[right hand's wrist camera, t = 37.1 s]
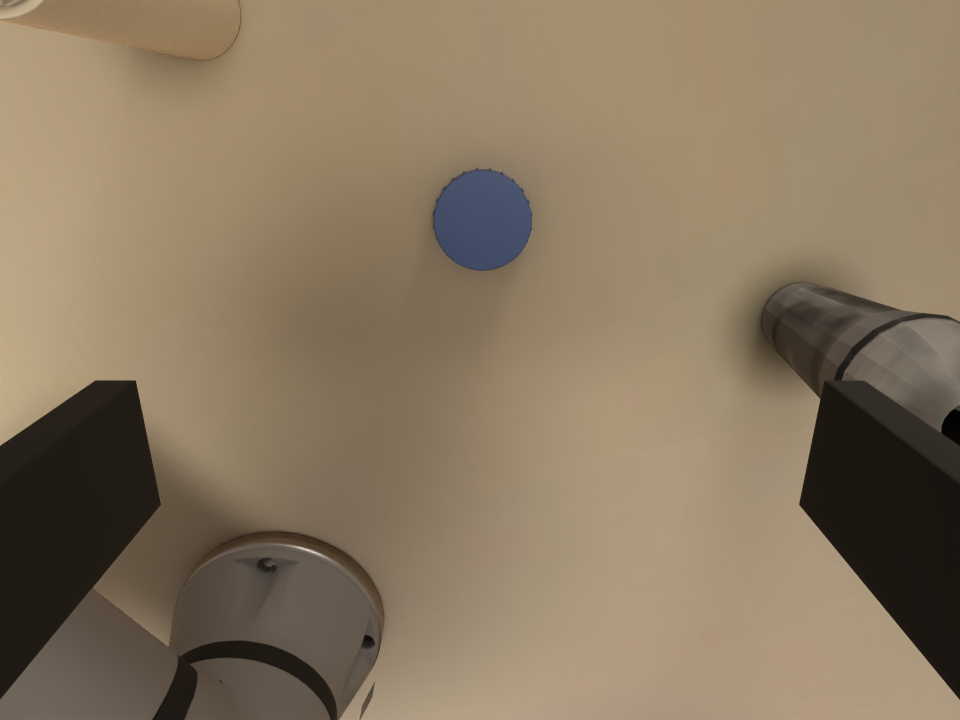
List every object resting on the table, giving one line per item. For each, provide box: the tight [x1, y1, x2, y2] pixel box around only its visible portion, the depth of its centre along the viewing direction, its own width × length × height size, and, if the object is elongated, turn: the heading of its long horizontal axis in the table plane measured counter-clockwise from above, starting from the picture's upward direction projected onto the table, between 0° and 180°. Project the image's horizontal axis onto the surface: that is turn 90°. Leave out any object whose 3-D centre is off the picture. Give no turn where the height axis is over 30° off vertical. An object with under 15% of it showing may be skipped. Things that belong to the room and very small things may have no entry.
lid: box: [433, 168, 532, 271], centre depth 39 cm, size 6×6×2 cm
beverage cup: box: [762, 283, 960, 446], centre depth 32 cm, size 7×7×20 cm
